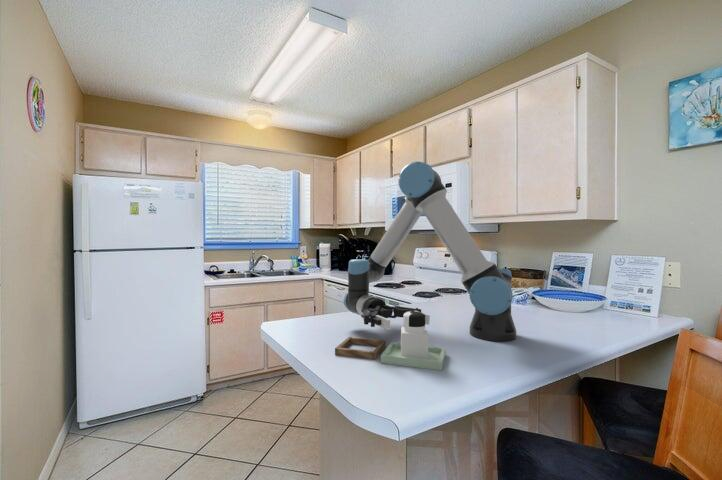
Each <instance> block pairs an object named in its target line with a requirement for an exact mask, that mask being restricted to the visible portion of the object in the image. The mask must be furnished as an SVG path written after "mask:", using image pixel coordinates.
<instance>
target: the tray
mask: <svg viewBox="0 0 722 480" xmlns="http://www.w3.org/2000/svg"><path fill="white" fill-rule="evenodd" d="M446 349H447V348H446V347H437V346H429V345H428V359H419V358H411V357H402V356H401V342H393V341H391V342H390V343H389V344H388V345H387V346H386V347H385V348H384V350H383V351H382V352H381V354H380V363H381V364H386V365H387V364H388V365H396V366H406V367H410V368H411V367H413V368H420V369H427V370H436V371H443V367H444V364H445V359H446V353H447V351H446Z"/></svg>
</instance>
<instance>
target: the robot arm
mask: <svg viewBox="0 0 722 480" xmlns="http://www.w3.org/2000/svg"><path fill="white" fill-rule="evenodd" d="M398 187H399V189H400V191H401V193H402V194H404V195H405V196H404V201H405V202H404V203H403V205H402V207H400V209H399V211H398V213H397V214H396V216H395V218H394V219H393V221H392V222H391V223H390V225H389V227H388V228H387V230H386V231H385V233H384V234H383V236H382V237H381V239H380V241H379V242H378V243H377V245H376V247H375V249H374V250H373V251H372V253H371V254H370V257H369V258H368V259H365V258H363V259H360V258H358V259H357V258H356V259H350V260H349V261H348V268H347V272H348V273H347V274H348V275H347V277H348V278H347V282H348V283H347V284H348V285H347V289H348V290H347V292H346V293H345V295H344V298H343V306H344V307H345V309H347V310H348V311H349V312H351V313H353V314H356V315H359V316H360V317H361V318H362V319H363V325H369V324H370V327H371V328H375V327H376V326H378V327H380V328H382V329H384V330H387V331H391V319H396V318H403V315H404V313H406V312H410V311H416V312H421V313H423V314H425V325H430V316H431V315H430V314H428V313H426V312H425V313H424V312H423V311H422V309H420V308H418V307H416V308H413V307H405V306H400V305H397V304H396V305H394V306H390V305H388V304H386V301H384V300H383V299H381V298H379V297H376V296H373V295H370V283H374V282H378V281H379V280H380V279H382V278H383V277H384V274H385V271H386V270H385V269H386V268H387V266H388V265H389V264H390V262H391V261H392V260H393V258H394V256H395V255H396V253H397V252H398V250H399V249H400V247H401V246H402V244H403V243H404V241H405V240H406V239H407V237H408V235H409V234H410V232H411V230H412V229H413V228H414V226H415V225H416V224H417V222H418V220H419V219H420V218H421V216H422V214H424V215H425V218H426V219H427V220H428V222H429V224H430V225H431V227H432V229H433V230H434V232H435V233H436V235H437V237H438V238H439V239H440V241H441V243H442V244H443V246H444V247H445V249H446V250H447V252H448V254H449V256H450V258H452V260H453V263H455V265H456V266H457V268H458V269H459V271H460V273H461V274H462V277H461V281H460V282H461V283H462V285H463V286H464V288H465V290H466V291H467V293H468V295H469V301H470V302H471V304H472V305H473V307H474V314H473V317H472V319H471V322H470V325H469V334H470V335H471V336H473V337H475V338H477V339H481V340H486V341H491V342H492V341H494V342H510V341H514V340H516V339H517V328H516V325H515V323H514V319H513V316H512V302H513V298H514V297H513V290H512V280H513V276H512V271H511V269H508V268H499V267H498V266H497V264H496V263H495V262H493V261H489V260H487V258H486V257H485V255H484V254H483V252H482V251H481V249H480V247H479V246H478V244H477V243H476V242H475V241H474V239H473V236H472V235H471V234H470V233H469V230H467V227H466V226H465V225H464V223H463V222H462V220H461V219H460V217H459V216H458V214H457V212H456V210H454V208H453V207H452V205H451V204H450V202H449V200H448V199H447V192H448V190H447V188H446V187H445V186H444V184H443V183H442V178H441V177H440V175H439V173H438V172H437V171H435V169H433V167H432V166H431V165H430V164H429V163H426V162H424V161H413V162H410V163H408V164H406V165H405V166H404V167H403V168H402V170H401V171H400V173H399V177H398Z"/></svg>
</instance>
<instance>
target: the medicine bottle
mask: <svg viewBox="0 0 722 480" xmlns="http://www.w3.org/2000/svg"><path fill="white" fill-rule="evenodd" d="M421 312H422V311H421ZM421 312H416V311H410V312H406V313H404V315H403V317H402V319H403V321H402V322H403V326H401V327H400V343H401V356H402V357H411V358H419V359H428V346H429V333H428V330H427V328H426V324H425V314H426V313H425V314H423V313H424V312H422V313H421Z"/></svg>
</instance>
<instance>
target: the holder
mask: <svg viewBox="0 0 722 480" xmlns="http://www.w3.org/2000/svg"><path fill="white" fill-rule="evenodd" d="M351 344H352V345H359V346H360V345H361V346H370V347H375V348H374V349H373V350H363V349H354V348H348V347H349V346H350V345H351ZM386 348H387V340H384V339H376V338H366V337H365V338H364V337H356V336H348V337H347V338H346V339H345V340H343V341H342V342H341V343H339V344H338V346H336V347H335V348H334V355H335V356H345V357H351V358H352V357H353V358H361V359H368V360H369V359H370V360H377V358H379V355H381V354H382V353H383V352H384V350H385V349H386Z"/></svg>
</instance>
